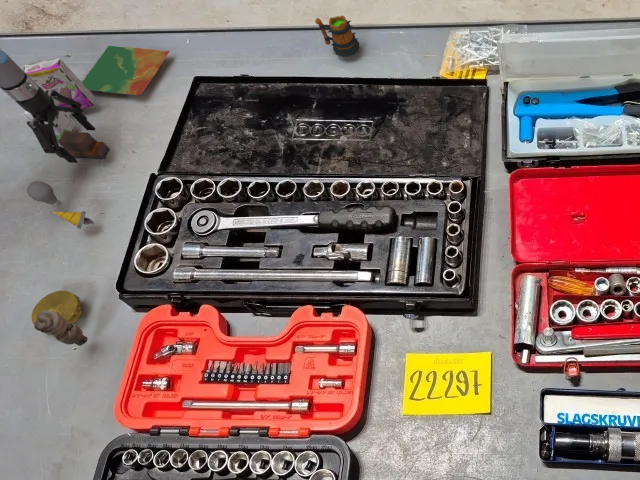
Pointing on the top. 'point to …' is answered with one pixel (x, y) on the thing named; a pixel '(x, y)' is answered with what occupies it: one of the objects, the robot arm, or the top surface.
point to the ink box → (58, 123)
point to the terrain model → (124, 70)
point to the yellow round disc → (59, 306)
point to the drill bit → (75, 218)
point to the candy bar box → (60, 82)
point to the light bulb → (43, 193)
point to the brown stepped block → (83, 146)
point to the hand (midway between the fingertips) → (82, 145)
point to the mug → (340, 36)
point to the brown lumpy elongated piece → (59, 328)
